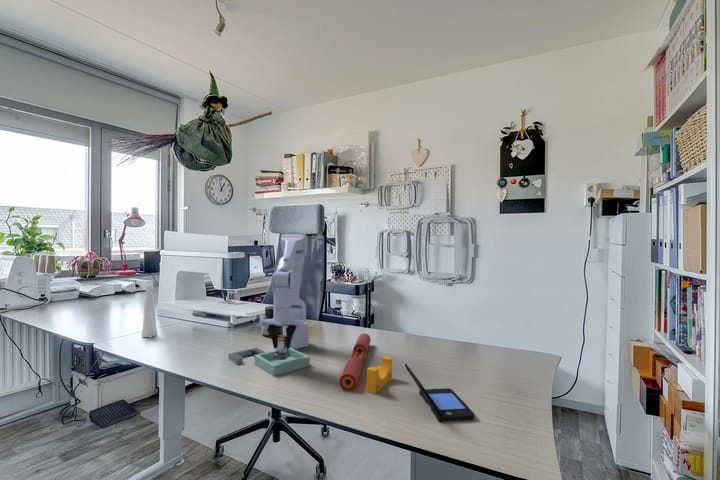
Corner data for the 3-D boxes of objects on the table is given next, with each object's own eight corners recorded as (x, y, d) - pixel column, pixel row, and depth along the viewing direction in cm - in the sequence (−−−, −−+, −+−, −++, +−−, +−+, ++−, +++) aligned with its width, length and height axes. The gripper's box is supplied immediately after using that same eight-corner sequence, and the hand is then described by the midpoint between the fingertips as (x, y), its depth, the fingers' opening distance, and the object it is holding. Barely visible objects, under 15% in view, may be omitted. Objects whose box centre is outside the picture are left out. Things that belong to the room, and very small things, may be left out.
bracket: (256, 352, 128) (256, 347, 128) (265, 357, 122) (265, 352, 122) (228, 358, 121) (228, 353, 121) (236, 364, 115) (237, 359, 115)
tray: (289, 355, 125) (289, 347, 125) (309, 365, 115) (309, 356, 115) (254, 364, 116) (254, 355, 116) (273, 376, 106) (273, 366, 106)
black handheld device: (476, 421, 81) (477, 383, 81) (420, 425, 79) (420, 385, 79) (451, 392, 96) (451, 360, 96) (403, 394, 95) (403, 361, 95)
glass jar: (275, 355, 117) (277, 334, 118) (288, 356, 117) (290, 335, 118) (272, 359, 113) (274, 337, 113) (285, 360, 113) (287, 338, 113)
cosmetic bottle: (158, 333, 152) (158, 283, 152) (156, 336, 146) (157, 285, 146) (142, 334, 149) (142, 283, 149) (139, 338, 144) (140, 285, 144)
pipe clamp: (379, 376, 107) (379, 355, 107) (392, 378, 105) (392, 357, 105) (361, 390, 97) (361, 368, 97) (375, 394, 95) (375, 370, 95)
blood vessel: (356, 392, 96) (356, 374, 96) (338, 391, 97) (339, 373, 97) (370, 345, 138) (370, 333, 138) (358, 345, 139) (358, 332, 139)
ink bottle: (257, 335, 151) (257, 307, 151) (272, 330, 158) (273, 304, 158) (272, 338, 145) (272, 310, 145) (287, 334, 152) (288, 307, 152)
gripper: (256, 309, 112) (256, 351, 112) (301, 310, 111) (300, 352, 111) (264, 304, 119) (263, 344, 119) (305, 305, 118) (305, 345, 118)
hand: (282, 347), depth 115 cm, fingers closed on glass jar, 4 cm apart
